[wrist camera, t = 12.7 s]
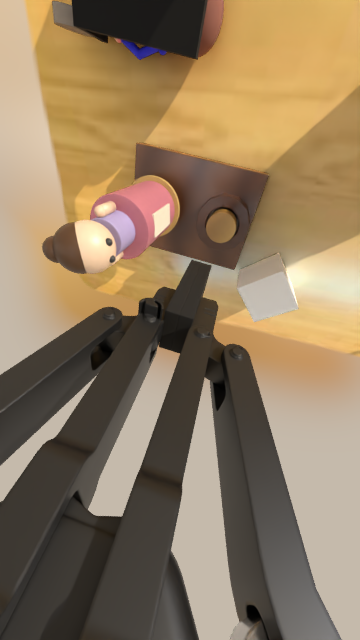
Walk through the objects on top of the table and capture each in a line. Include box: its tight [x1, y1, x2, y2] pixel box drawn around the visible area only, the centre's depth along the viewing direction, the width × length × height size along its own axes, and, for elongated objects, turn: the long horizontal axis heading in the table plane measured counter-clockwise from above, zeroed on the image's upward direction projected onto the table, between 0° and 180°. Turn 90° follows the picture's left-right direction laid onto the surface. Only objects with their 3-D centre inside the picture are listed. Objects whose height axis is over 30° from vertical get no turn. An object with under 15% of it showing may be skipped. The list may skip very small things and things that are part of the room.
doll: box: [42, 175, 180, 274], centre depth 23 cm, size 7×7×17 cm
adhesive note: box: [237, 253, 299, 322], centre depth 33 cm, size 6×6×6 cm
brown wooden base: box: [135, 143, 269, 270], centre depth 30 cm, size 16×12×4 cm
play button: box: [206, 209, 237, 243], centre depth 28 cm, size 4×4×2 cm
